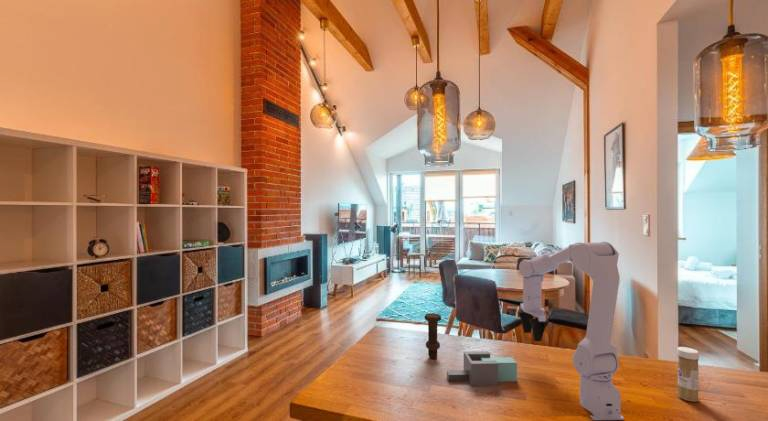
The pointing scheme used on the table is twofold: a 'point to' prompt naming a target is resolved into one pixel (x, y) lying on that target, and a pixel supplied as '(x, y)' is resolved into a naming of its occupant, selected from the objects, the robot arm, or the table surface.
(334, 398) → the table surface
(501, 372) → the plug
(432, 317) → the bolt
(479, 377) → the header
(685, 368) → the sprinkles bottle
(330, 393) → the table surface
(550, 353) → the table surface
